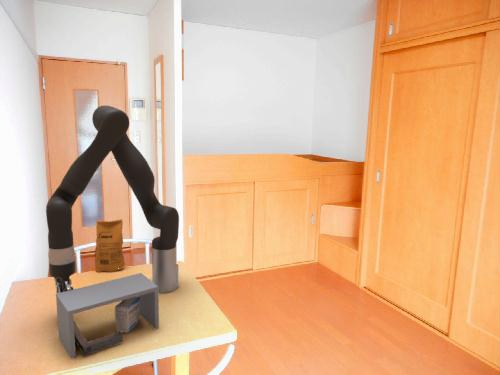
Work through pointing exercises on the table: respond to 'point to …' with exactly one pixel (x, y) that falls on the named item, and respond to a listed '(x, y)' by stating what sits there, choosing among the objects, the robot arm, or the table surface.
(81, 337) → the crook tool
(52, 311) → the table surface
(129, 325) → the medicine box
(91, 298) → the cubby
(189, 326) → the table surface
